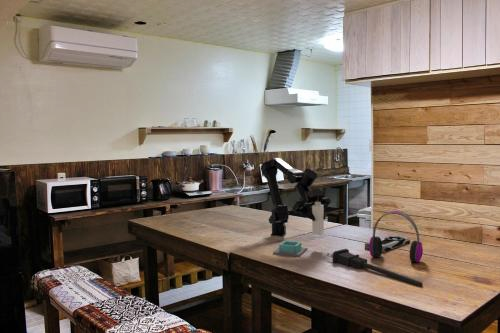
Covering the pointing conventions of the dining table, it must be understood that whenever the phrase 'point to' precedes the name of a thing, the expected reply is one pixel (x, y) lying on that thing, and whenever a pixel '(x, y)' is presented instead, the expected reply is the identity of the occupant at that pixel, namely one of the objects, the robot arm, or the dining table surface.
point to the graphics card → (391, 243)
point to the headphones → (415, 246)
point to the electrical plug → (366, 265)
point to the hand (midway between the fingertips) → (319, 219)
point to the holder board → (290, 249)
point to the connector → (318, 219)
